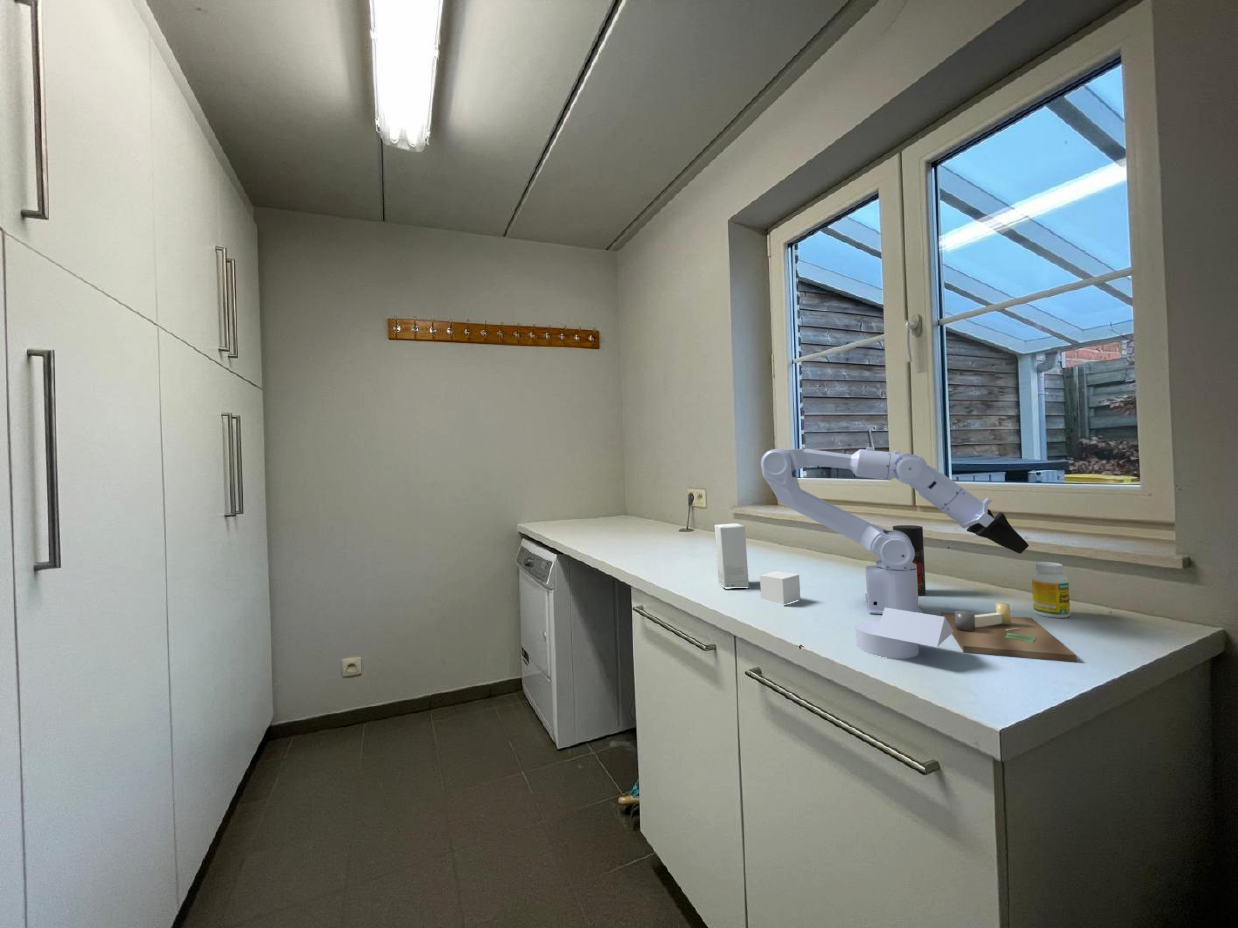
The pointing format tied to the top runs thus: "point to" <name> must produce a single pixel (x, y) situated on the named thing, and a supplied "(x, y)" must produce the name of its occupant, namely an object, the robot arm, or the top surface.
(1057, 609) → the supplement bottle
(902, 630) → the wedge on round base
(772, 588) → the white cube
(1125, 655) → the top surface
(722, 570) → the skincare box
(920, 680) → the top surface
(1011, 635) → the dial board
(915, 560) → the deodorant
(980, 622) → the yellow capsule-ended device
